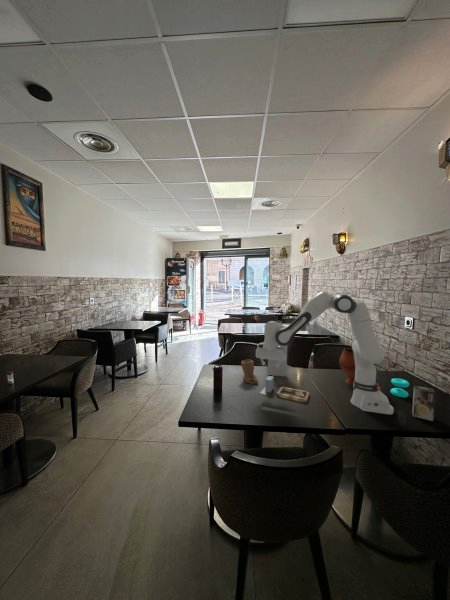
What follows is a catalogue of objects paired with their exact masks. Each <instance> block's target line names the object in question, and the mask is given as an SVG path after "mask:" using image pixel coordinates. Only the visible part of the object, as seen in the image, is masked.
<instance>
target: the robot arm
mask: <svg viewBox="0 0 450 600" xmlns="http://www.w3.org/2000/svg"><path fill="white" fill-rule="evenodd" d="M328 309H334V310H335V311H336V312H339V313H342V314H348V316H349V317H348V318H349V321H350V326H351V330H352V335H353V336H354V338H355V340H354V341H353V342H352V344H351V348H352V349H353V352H354V360H355V379H354V385H352V386H353V387H352V388H353V392H352V396H351V399H350V403H351V405H353V406H355V407H357V408H358V409H360V410H362V411H364V412H369V413H376V414H383V415H384V414H385V415H390V416H391V415H393V414H394V413H395V412H394V411H395V410H394V407H393V406H392V405H391V404H390V401H389V399H388V396H387V395H386V394H384V393H383V392H382V391H381V387H380V385H379V383H377V382H376V379H377V369H376V367H375V364H380V363H382V362H383V361H384V359H385V352H384V350H383V348H382V347H381V345H380V343H379V341H378V338H377V335H376V333H375V331H374V328H373V327H374V326H373V323H372V319H371V315H370V312H369V309H368V307H367V304H366V302H364V301H361V300H357V301H355V300H354V299H353V298H352V296H350V295H349V294H348V295H347V293H341V292H337V293H334V294H330V293H328V292H326V291H321V292H319V293H317V294H316V295H313V297H312V298H310V299H309V300H308V301H307V302H306V303H305V304H304V306H303V307H302V308H301V310H300V313H299V314H298V316H297V317H296V318H295V319H294V320H293V321H292V322H291V323H290V324H289V325H288V326H286V325H282V324H281V323H279V322H278V321H276V320H270V321H267V322H266V323H265V325H264V332H263V333H264V334H263V335H264V340H263V341H262V342H260V343H258V344H257V345H256V346H257V348H255V357H256V359H260V361H261V364H262V366H265V365H266V362H265V361H264V360H268V359H269V360H275V361H278V364H276V367H279V364H280V362H281V361H282V362H284V361H286V352H287V353H288V349H287V350H286V348H285V349H284V347H279V346H278V344H279V345H281V346H287V347H288V346H289V345H290V344H291V342H292V341H293V339H294V336H295V335H296V334H297V333H299V332H300V330H302V329H303V328H304V327H305V326H306V325H308V324H309V323H310V322H312V321H314V320H315V319H317V318H319V317H320V316H321V315H322V314H323V313H324V312H326V310H328Z"/></svg>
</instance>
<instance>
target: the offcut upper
mask: <svg viewBox="0 0 450 600" xmlns="http://www.w3.org/2000/svg"><path fill="white" fill-rule="evenodd" d="M294 396H296V397H300V398H305V396H306V395H304V394H303V393H302V392H295V393H294Z"/></svg>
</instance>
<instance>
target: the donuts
mask: <svg viewBox="0 0 450 600" xmlns="http://www.w3.org/2000/svg"><path fill="white" fill-rule="evenodd" d="M390 383H391V384H392V385H394V386H395V387H393V388H391V389H390V391H389V393H390V394H392V396H394V397H398V398H402V399H405V398H408V397H409V393H408V391H406V390H405V389H404V388H408V387H409V386H410V382H409V381H408V380H406V379H403V378H391V380H390Z"/></svg>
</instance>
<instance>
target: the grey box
mask: <svg viewBox="0 0 450 600" xmlns="http://www.w3.org/2000/svg"><path fill="white" fill-rule="evenodd" d="M278 346H279V347H284V349H285V348H286V350H287V352H286V361H284V362H282V361H281V362H280V364H279V367H276V364H278V361H275V360H269V359H267V370H266V371H267V372H266V374H267V376H269V375H272V377H287V369H288V368H287V365H288V364H287V363H288V361H287V360H288V345H287V346H281V345H279V344H278Z"/></svg>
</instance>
